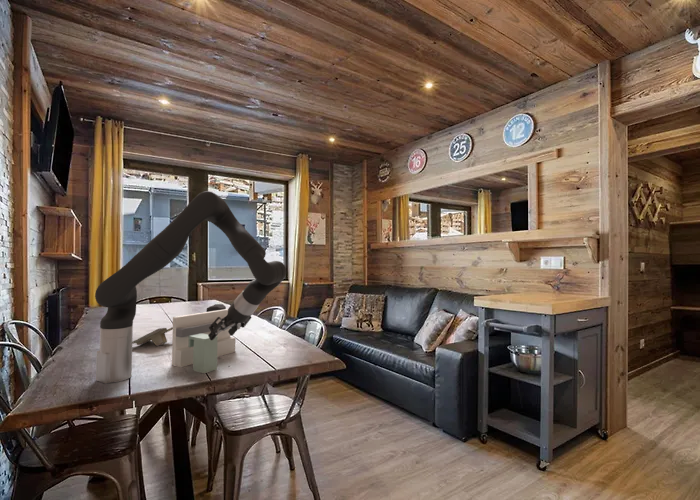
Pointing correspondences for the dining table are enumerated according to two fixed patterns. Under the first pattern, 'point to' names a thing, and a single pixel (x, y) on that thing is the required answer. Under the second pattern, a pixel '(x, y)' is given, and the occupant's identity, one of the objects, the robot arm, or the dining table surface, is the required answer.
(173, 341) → the cleat board
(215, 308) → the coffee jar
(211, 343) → the sage cabinet
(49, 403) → the dining table surface
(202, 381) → the dining table surface
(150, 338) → the olive slanted plate stand
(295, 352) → the dining table surface
